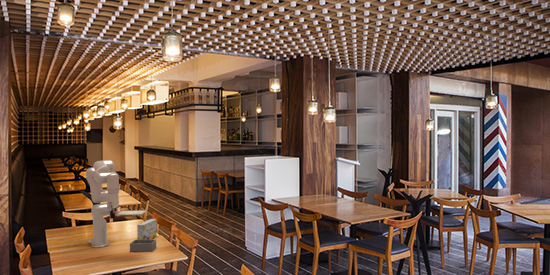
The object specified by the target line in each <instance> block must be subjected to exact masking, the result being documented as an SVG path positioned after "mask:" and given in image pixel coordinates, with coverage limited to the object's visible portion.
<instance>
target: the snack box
mask: <svg viewBox="0 0 550 275" xmlns="http://www.w3.org/2000/svg"><path fill="white" fill-rule="evenodd" d="M157 221H158V220H157V218H150V219H147V220H145V221H143V222H140V223H138V224H137V227H136V228H137V229H136V232H137V233H136V236H137V237H136V238H137V239H136V240H155V238H157V236H158V235H157V234H158V233H157V231H158V230H157V228H158V227H157V224H158V223H157Z"/></svg>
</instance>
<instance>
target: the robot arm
mask: <svg viewBox="0 0 550 275" xmlns="http://www.w3.org/2000/svg"><path fill="white" fill-rule="evenodd" d="M114 170H115V162H113V160H111V159H107V160H106V159H105V160H97V161H95V162H94V163H93V165H92V167H88V168H87V169H86V170H85V177H86V181H87V184H88V185H89V187H90V188H89V189H90V194H91V200H92V201H91V202H93V203H95V204H93V205H92V207H91V216H92V232H93V234H92V236H93V239H88V243H89V244H91V247H92V248H104V247H107V246H110V241H108V224H107V223H108V222H107V220H106V219H105V218H104V217H106V216H109V219H111V220H112V219H113V220H114V219H115V218H118V216H115V213H114V211H119V210H118V207H119V206H120V197H119V196H120V195H119V194H120V182H119V181H120V180H119V173H117V172H116V171H115V172H114ZM103 184H104V185H105V184H106V189H103Z"/></svg>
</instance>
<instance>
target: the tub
mask: <svg viewBox="0 0 550 275" xmlns="http://www.w3.org/2000/svg"><path fill="white" fill-rule="evenodd" d="M156 249H157V239H152V240H137V239H134V240H132V242H130V243H129V253H152V252H154V251H155V250H156Z"/></svg>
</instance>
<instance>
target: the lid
mask: <svg viewBox="0 0 550 275" xmlns="http://www.w3.org/2000/svg"><path fill="white" fill-rule="evenodd" d="M114 213H115V216H117V217H120V216H142V215H143V214H146V213H147V210H122V211H121V210H118V211H114Z"/></svg>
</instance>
